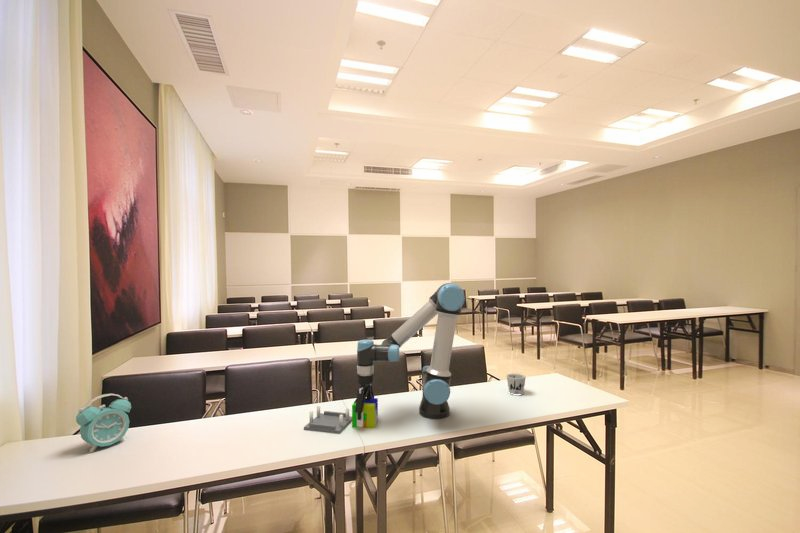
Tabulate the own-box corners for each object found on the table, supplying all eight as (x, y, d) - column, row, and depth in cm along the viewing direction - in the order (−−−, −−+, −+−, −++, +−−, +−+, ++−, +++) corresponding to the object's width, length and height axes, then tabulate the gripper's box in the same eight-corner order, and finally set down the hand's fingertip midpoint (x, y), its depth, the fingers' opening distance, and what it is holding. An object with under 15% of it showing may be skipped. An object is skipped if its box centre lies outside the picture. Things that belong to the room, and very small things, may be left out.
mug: (507, 396, 202) (507, 378, 202) (504, 387, 217) (504, 371, 217) (527, 397, 200) (527, 379, 200) (522, 388, 215) (522, 371, 215)
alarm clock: (82, 457, 135) (82, 403, 136) (72, 450, 140) (73, 399, 141) (135, 439, 150) (135, 391, 150) (125, 433, 155) (125, 387, 155)
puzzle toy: (377, 419, 170) (377, 398, 170) (374, 428, 160) (374, 406, 160) (356, 418, 171) (356, 397, 171) (352, 427, 161) (352, 405, 161)
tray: (353, 419, 170) (353, 406, 170) (339, 433, 155) (339, 419, 155) (320, 415, 174) (320, 402, 174) (303, 429, 159) (303, 415, 159)
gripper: (366, 366, 179) (366, 409, 178) (347, 381, 155) (347, 431, 155) (380, 367, 177) (380, 411, 177) (363, 382, 153) (363, 433, 153)
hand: (365, 420), depth 166 cm, fingers open, 12 cm apart
